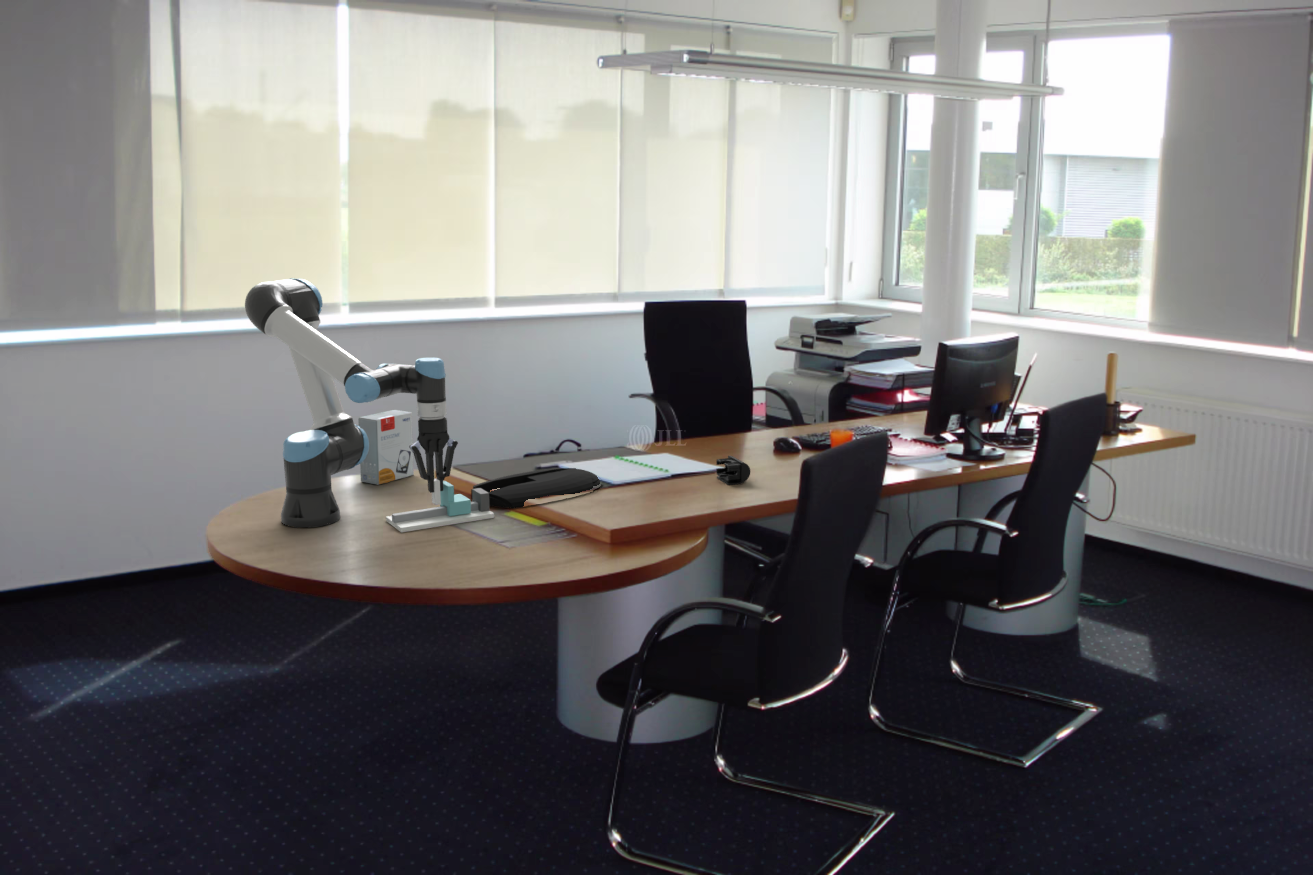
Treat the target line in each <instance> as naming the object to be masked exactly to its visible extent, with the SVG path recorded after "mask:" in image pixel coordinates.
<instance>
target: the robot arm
mask: <svg viewBox="0 0 1313 875" xmlns="http://www.w3.org/2000/svg"><path fill="white" fill-rule="evenodd" d="M322 308H323V297H322V294H321V293H320V291H319V289H318V288H317V286H316V285H314V283H312V282H311V281H309V280H306V279H304V278H295V277H294V278H293V277H291V278H286V279H279V280H273V281H263V282H260V283H257V284H255V285H254V286H253V287H252V288H250V289H249V291H248V292H247V293H246V297H245V300H244V309H245V313H246V316H247V318H248V320H249V321H250V323H252V325H253V326H254V327H256V329H258V330H259V331H260V332H261V333H263V334H264V335H266V336H267V337H270V338H277V339H278V340H279V341H281V342H282V343H284V344H285V345H286V346H288V349H289V352H290V355H291V357H292V361H293V364H294V367H295V370H296V373H297V376H298V379H299V381H300V386H301V387H302V392H303V394H304V398H305V399H306V403H307V405H308V409H309V411H310V416H311V417H312V421H313V424H312V425H311V427H310V428H309V430H307V429H306V430H305V431H297V432H293V434H290V435H288V436H287V437H286V438H285V439H284V440H283V449H282V450H283V452H282V457H283V466H284V467H283V468H284V469H283V470H284V478H285V492H286V494H285V498H284V501H283V505H282V510H281V512H280V520H281V524H282V523H283V524H282V525H284V524H285V525H284V526H286V525H289V526H288V527H290V526H294V527H293V528H298V527H308V528H317V527H322V526H328V525H331V524H334V523H336V522H338V521H339V520H340V519H341V512H340V507H339V504H338V502H337V500H336V497H335V495H334V493H333V489H332V477H331V476H332V475H335V474H338V473H342V472H344V471H346V470H347V471H348V470H351V469H353V468H355V467H356V466H358V465H359V466H360V463H362V462H363V461H364V459H365V458H366V455H367V454H368V450H369V440H368V437H367V434H366V433H365V431H364V430H363V429H361V428H360V426H359V424H355V422H354V419H353V416H352V415H350V414H347V413H346V412H345V410H344V407H343V404H342V401H341V398H340V395H339V392H338V388H337V385H336V383H335V380H336V381H337V382H338V383H340V384H341V385H342V386H344V390H345V393H346V396H348V398H349V400H350V401H352V402H354V403H356V404H363V403H371V402H373V401H375V400H379V399H381V398H385V397H389V396H394V395H397V394H413V395H414V394H415V395H416V404H417V405H416V406H417V407H416V408H417V416H418V417H419V418H418V419H417V427H418V436H417V438H416V441H415V442H413V445H412V444H411V445H410V446H409V448H410V449H411V450H412V452H413V458H414V460H415V462H416V467H417V469H418V473H419V476H420V478H421V479H422V480H426V481H427V490H428V493H431V504H433V505H435V506H438V505H439V506H440V504H441V496H440V491H443V481H445V478H448V477H450V475H451V471H452V465H453V461H454V460H453V459H454V454H455V450H456V448H457V446H458V444H459V442H458V441H457V440H455V439H453V438H450V435H449V433H448V418H447V417H446V416H447V414H448V413H447V397H446V376H447V375H446V371H445V370H446V369H445V361H444V359H442V358H441V357H433V356H432V357H419V358H417V359H416V360H414V362H415V363H414V364H405V363H404V364H403V363H394V362H390V363H381V364H379V365H378V366H377V367H376V368H375V369H372V368H370V367H369V366H367V365H366V364H364V363H363V362H362V361H360V360H358V359H357V358H356V357H354V356H353V355H352V354H351V353H349V352H348V351H346V350H344V349H343V348H342V347H341V346H339V345H338V344H337V343H335V342H334V341H332V340H331V339H330V338H328V337H327V336H325V335H324V334H322V333H321V332H319V330H318V329H319V326H320V324H321V319H320V314H321V313H322ZM446 445H447V447H446V451H445V456H443V455H444V449H445V446H446ZM421 448H422V449H423V450H424V454H425V461H426V462H425V463H424V460H423V457H422V453H421ZM443 457H444V458H443ZM434 458H435V459H434ZM434 461H435V464H434ZM425 464H426V466H425ZM435 475H436V476H435ZM435 477H436V478H435Z"/></svg>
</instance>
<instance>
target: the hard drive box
mask: <svg viewBox="0 0 1313 875" xmlns="http://www.w3.org/2000/svg"><path fill="white" fill-rule="evenodd" d="M357 422H358V426H360V428H361V429H363V430H364V431H365V433H366V434H367V437H368V440H369V450H368V454H367V455H366V458H365V459H364V461H363V462H362V463H360V464H359V466H360V467H359V470H360V471H359V472H360V482H363V483H367V484H372V485H377V486H378V485H382V484H387V483H390V482H393V481H398V480H400V479H405V478H408V477H411V476H414V474H415V473H414V453H413V452H412V450H411V449H410V448H409V446H410V445H411V444H412V445H413V444H414V442H413V441H414V440H413V439H414V438H413V412H412V411H404V410H399V409H392V410H387V411H381V412H378V413H374V414H373V413H372V414H368V415H364V416H359V417H358V421H357Z"/></svg>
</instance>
